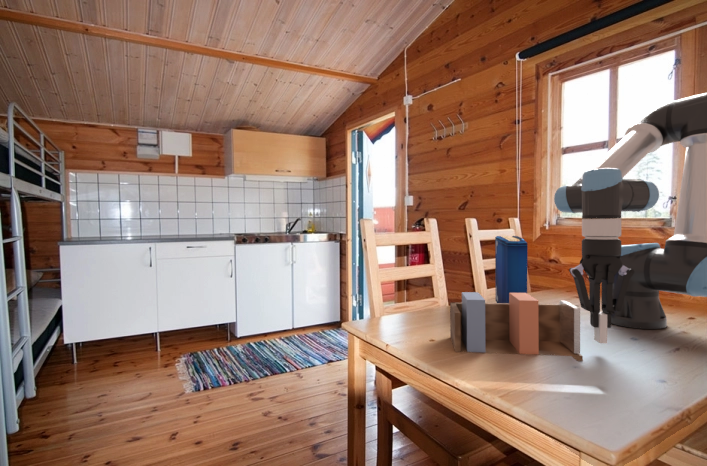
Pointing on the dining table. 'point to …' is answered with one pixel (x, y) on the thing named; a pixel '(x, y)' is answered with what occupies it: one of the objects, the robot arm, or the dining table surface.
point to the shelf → (499, 330)
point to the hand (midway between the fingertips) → (600, 341)
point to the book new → (523, 323)
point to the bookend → (570, 326)
